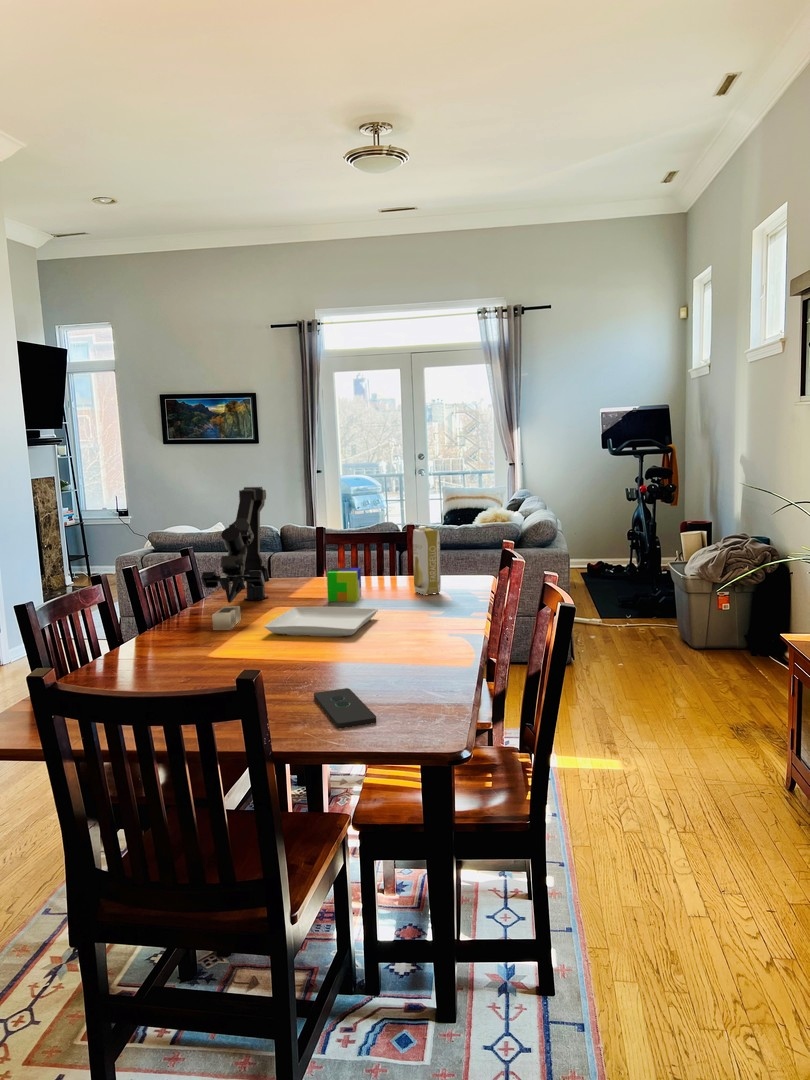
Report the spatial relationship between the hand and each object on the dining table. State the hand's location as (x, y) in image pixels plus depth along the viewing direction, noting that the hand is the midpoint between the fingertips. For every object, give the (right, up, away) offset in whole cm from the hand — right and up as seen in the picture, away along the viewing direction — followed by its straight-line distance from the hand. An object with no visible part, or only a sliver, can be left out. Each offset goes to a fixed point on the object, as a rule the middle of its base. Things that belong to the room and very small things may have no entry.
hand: (229, 601), depth 240 cm
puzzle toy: (+33, -2, +34) cm, 47 cm away
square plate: (+30, -8, -7) cm, 31 cm away
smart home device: (+41, -17, -79) cm, 90 cm away
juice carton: (+62, 0, +39) cm, 73 cm away
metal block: (0, -4, +3) cm, 5 cm away
